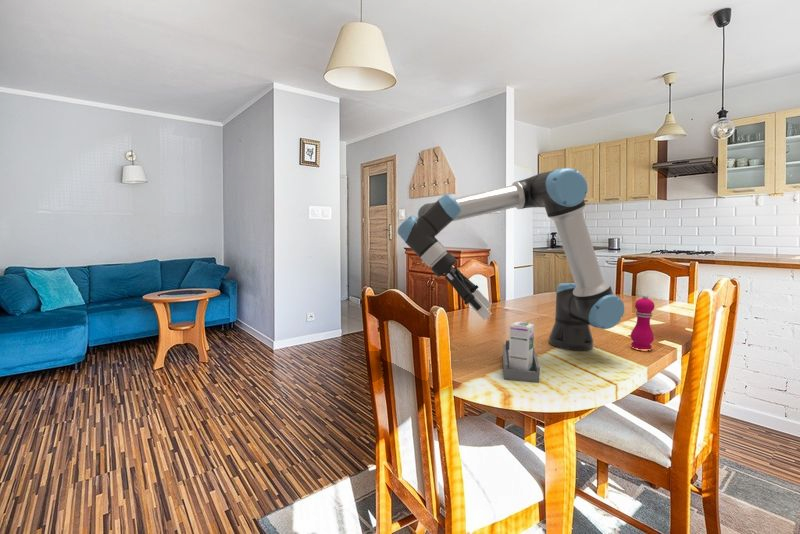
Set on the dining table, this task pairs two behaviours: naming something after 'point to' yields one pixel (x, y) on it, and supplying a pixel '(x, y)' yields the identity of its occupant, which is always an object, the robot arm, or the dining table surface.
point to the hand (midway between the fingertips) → (488, 312)
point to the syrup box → (521, 346)
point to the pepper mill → (643, 324)
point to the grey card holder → (520, 374)
